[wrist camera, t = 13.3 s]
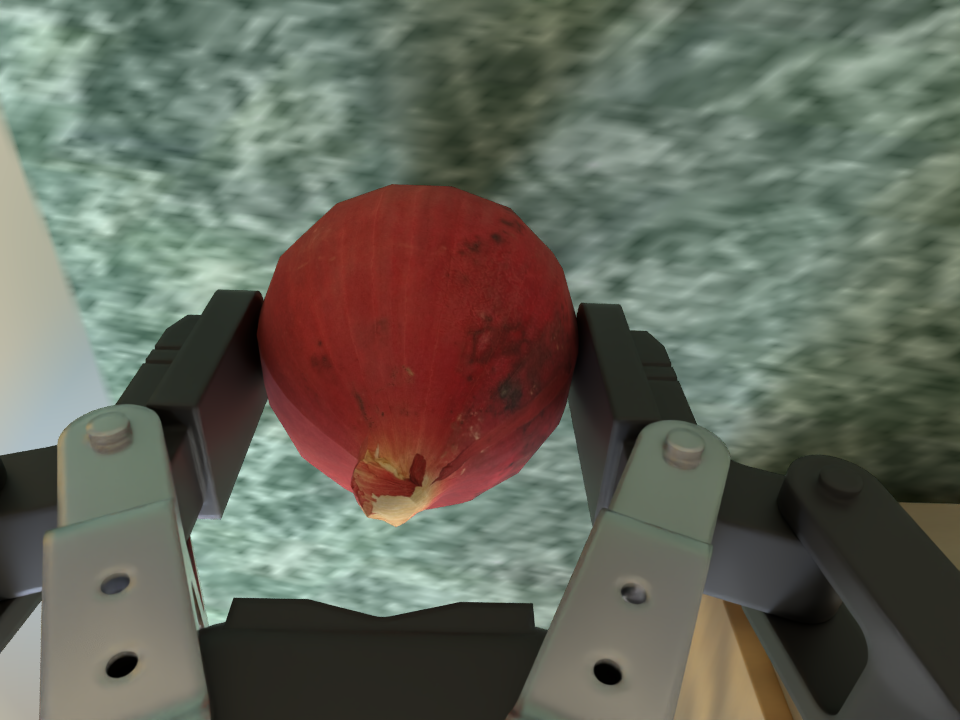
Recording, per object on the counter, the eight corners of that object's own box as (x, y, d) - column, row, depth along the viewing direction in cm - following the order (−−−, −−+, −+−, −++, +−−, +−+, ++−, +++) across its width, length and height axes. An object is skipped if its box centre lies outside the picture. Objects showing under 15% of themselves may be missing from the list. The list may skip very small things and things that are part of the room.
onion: (514, 92, 14) (553, 271, 8) (582, 323, 18) (652, 592, 11) (258, 181, 15) (98, 408, 9) (365, 385, 18) (307, 667, 12)
